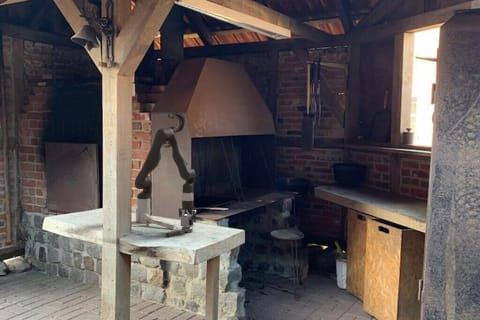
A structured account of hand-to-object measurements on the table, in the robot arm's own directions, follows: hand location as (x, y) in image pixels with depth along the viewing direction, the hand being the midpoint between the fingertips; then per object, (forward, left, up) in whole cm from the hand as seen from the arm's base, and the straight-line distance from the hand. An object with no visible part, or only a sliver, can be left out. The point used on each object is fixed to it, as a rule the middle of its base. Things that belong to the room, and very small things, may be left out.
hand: (187, 224), depth 291 cm
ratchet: (0, -7, -5) cm, 9 cm away
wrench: (-23, -2, -5) cm, 24 cm away
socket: (0, 0, -1) cm, 1 cm away
